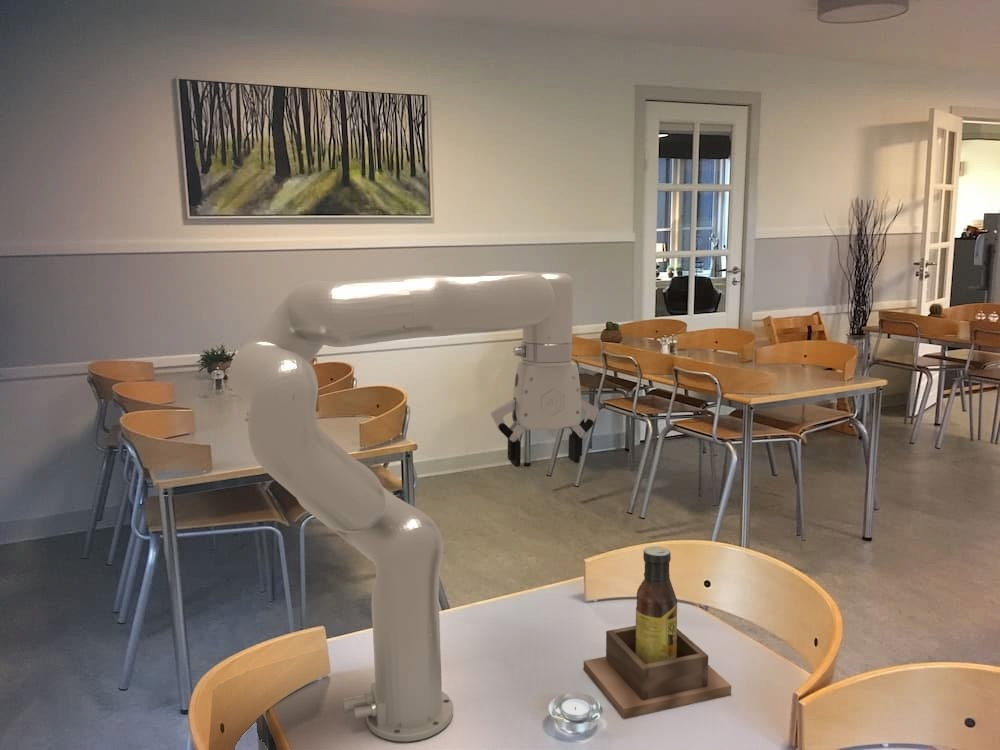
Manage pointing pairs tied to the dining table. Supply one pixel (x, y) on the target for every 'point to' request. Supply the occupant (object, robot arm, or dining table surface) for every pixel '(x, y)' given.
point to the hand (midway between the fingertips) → (544, 462)
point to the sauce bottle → (656, 609)
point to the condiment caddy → (653, 676)
